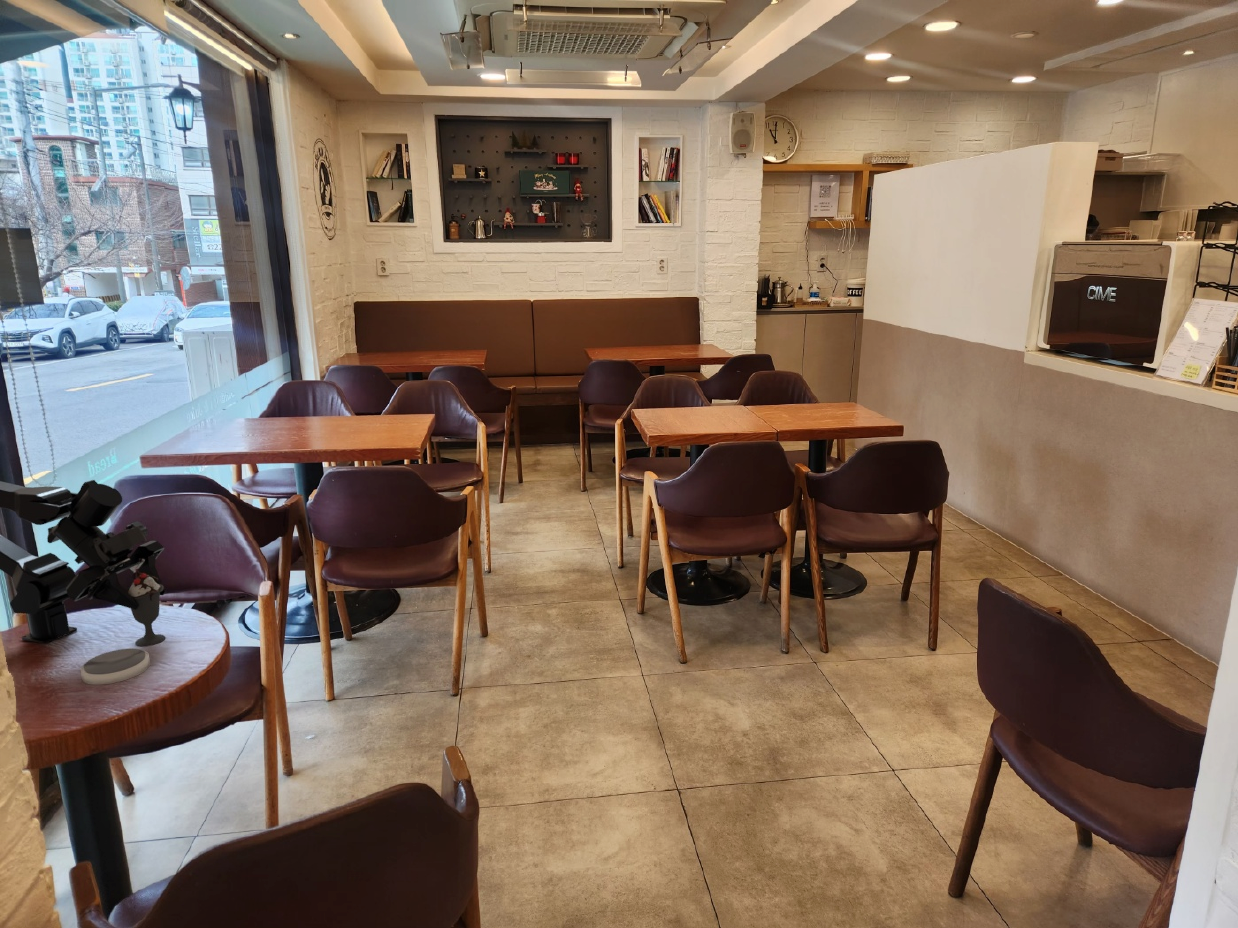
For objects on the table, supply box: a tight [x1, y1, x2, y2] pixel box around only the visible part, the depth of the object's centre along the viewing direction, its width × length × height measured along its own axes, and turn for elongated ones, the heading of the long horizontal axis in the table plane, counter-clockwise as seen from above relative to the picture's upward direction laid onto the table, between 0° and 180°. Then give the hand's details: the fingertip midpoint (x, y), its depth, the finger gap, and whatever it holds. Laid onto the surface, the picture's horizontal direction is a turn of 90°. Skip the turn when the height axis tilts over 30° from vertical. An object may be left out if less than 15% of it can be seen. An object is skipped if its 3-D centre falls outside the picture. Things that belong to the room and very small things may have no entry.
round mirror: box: [80, 648, 151, 686], centre depth 135 cm, size 10×10×2 cm
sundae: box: [125, 568, 166, 647], centre depth 146 cm, size 7×7×15 cm
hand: (151, 600), depth 145 cm, fingers closed on sundae, 6 cm apart
